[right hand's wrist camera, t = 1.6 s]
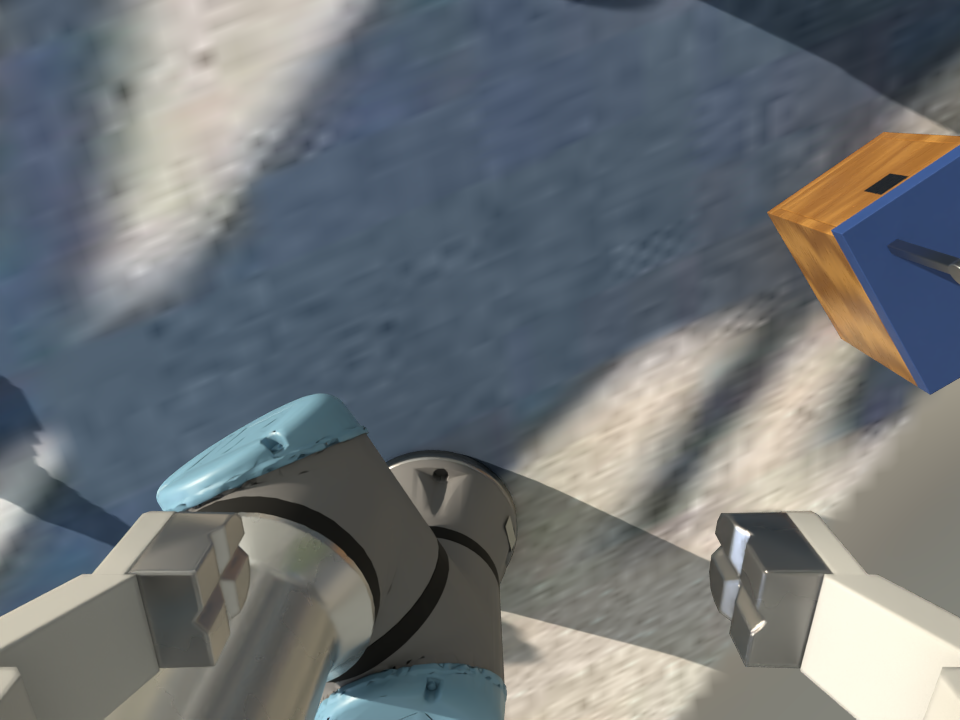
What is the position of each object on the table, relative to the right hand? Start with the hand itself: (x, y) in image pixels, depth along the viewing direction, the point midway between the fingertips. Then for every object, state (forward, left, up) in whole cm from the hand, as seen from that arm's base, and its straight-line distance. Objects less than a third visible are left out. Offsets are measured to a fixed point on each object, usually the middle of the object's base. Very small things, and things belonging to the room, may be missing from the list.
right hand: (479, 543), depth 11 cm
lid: (-11, +28, -31) cm, 43 cm away
